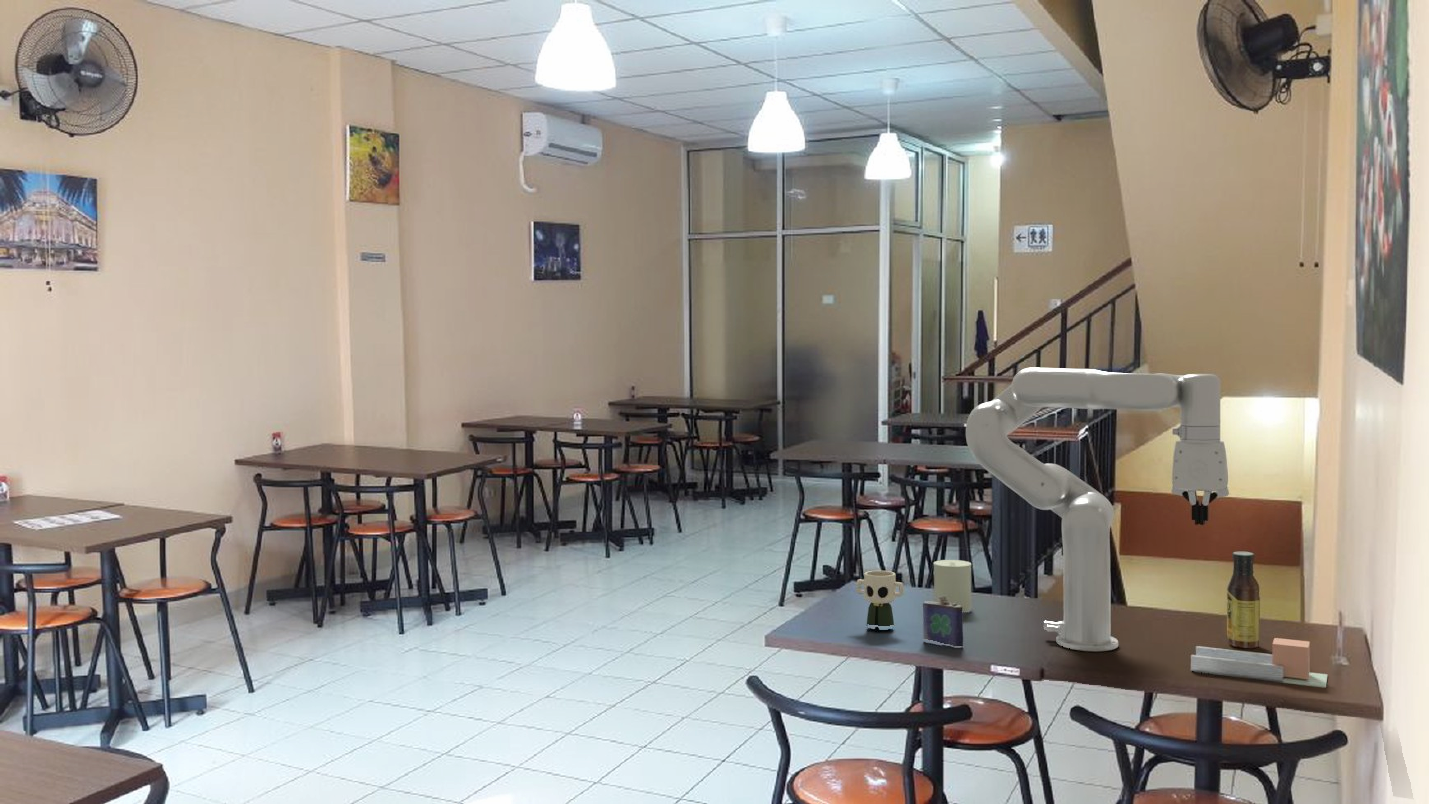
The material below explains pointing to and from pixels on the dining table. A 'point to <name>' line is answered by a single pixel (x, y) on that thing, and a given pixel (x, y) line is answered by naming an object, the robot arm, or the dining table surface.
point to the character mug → (880, 596)
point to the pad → (1309, 680)
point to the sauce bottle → (1243, 603)
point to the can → (953, 582)
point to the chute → (1236, 664)
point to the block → (1292, 657)
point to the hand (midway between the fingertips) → (1199, 523)
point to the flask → (943, 622)
